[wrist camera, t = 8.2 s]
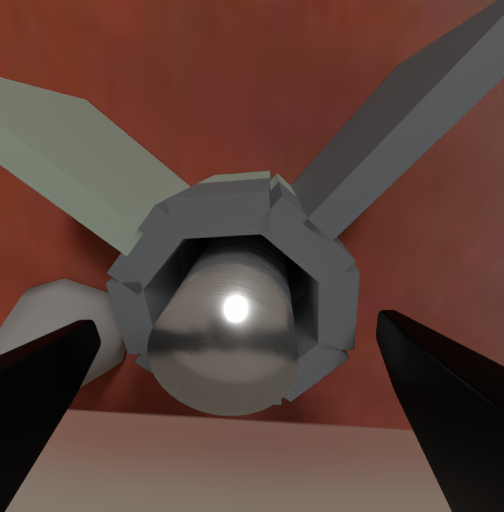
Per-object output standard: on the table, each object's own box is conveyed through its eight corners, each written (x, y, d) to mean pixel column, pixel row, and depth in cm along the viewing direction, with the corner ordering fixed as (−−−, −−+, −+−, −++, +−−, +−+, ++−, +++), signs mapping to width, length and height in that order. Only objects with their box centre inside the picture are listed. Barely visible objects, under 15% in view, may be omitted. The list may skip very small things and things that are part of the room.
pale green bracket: (350, 240, 15) (411, 311, 8) (256, 327, 17) (247, 434, 11) (120, 31, 12) (-56, -109, 5) (48, 173, 15) (-130, 193, 8)
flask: (139, 368, 20) (19, 568, 10) (43, 362, 20) (-156, 548, 11) (123, 279, 17) (-58, 439, 8) (13, 273, 17) (-288, 419, 8)
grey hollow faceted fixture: (256, 327, 17) (247, 434, 11) (153, 251, 16) (72, 322, 9) (460, 137, 13) (658, 126, 6) (342, 0, 11) (441, -205, 5)
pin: (282, 209, 14) (297, 292, 6) (284, 276, 16) (300, 416, 8) (209, 214, 15) (130, 298, 7) (218, 279, 16) (163, 415, 8)
